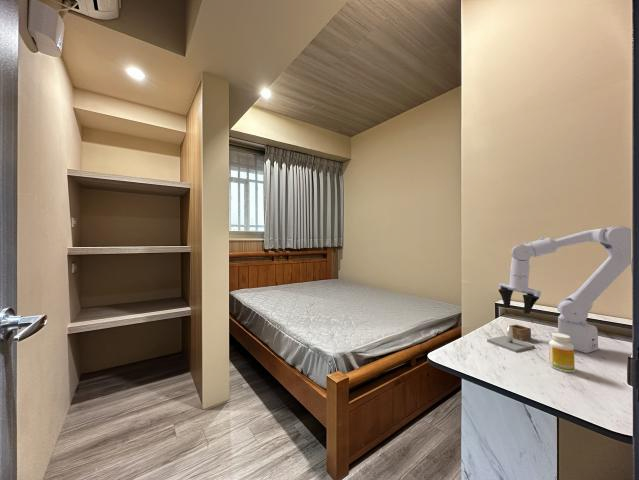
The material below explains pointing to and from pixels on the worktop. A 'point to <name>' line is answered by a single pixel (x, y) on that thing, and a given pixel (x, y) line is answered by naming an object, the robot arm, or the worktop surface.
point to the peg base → (512, 345)
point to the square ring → (521, 332)
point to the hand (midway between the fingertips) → (516, 310)
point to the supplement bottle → (561, 353)
